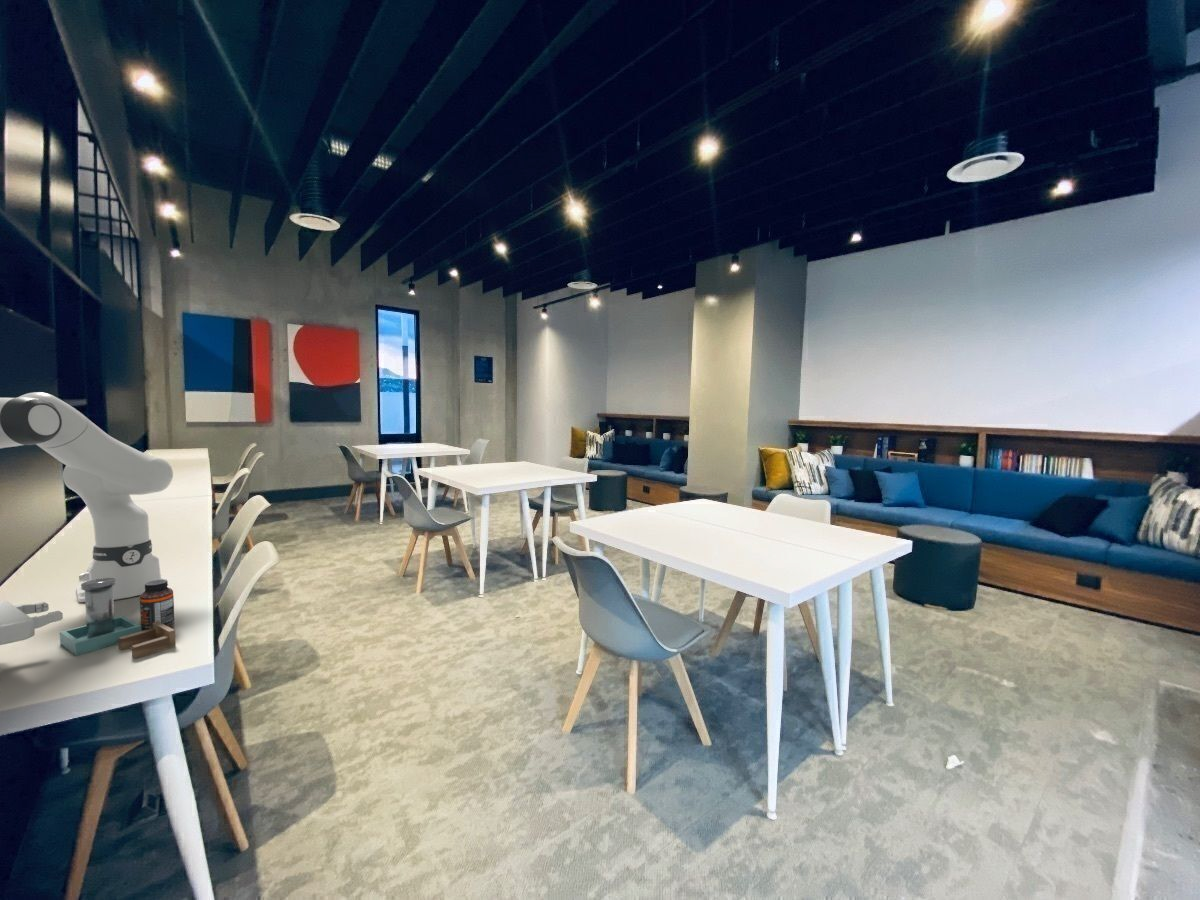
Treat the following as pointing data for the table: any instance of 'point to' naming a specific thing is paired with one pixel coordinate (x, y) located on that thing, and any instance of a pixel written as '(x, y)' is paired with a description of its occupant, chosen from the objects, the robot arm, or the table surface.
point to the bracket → (149, 640)
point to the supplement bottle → (156, 604)
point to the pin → (99, 606)
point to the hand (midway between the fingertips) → (54, 610)
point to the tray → (80, 644)
